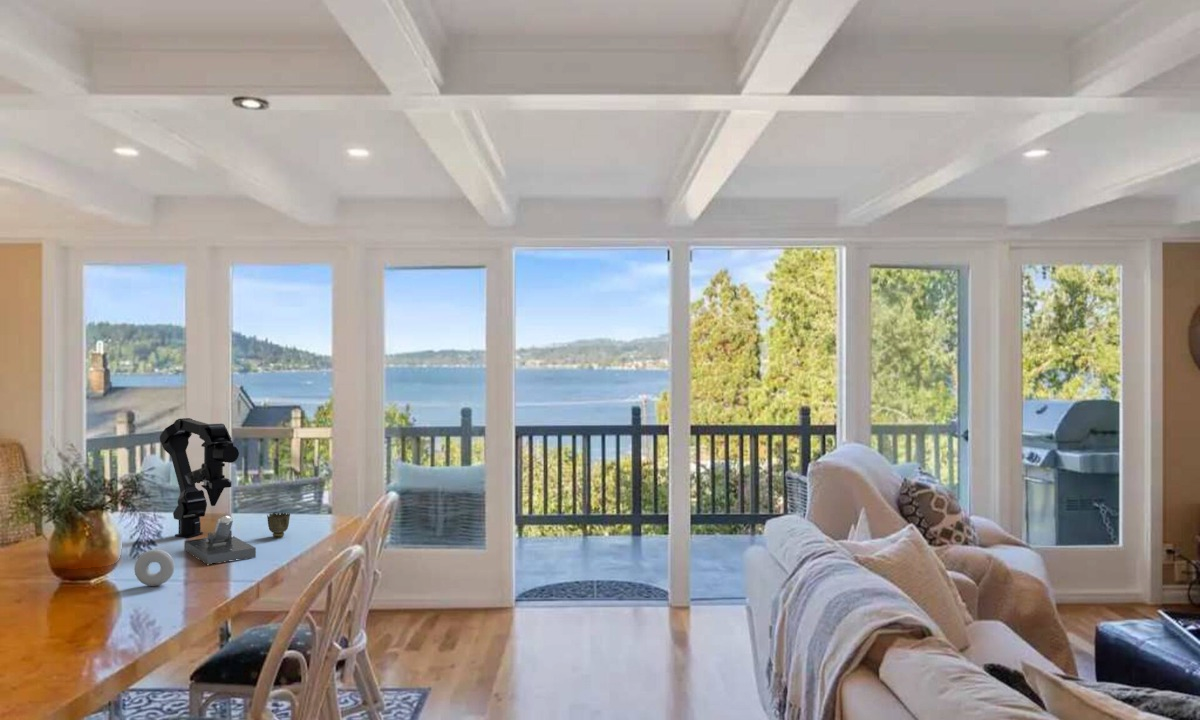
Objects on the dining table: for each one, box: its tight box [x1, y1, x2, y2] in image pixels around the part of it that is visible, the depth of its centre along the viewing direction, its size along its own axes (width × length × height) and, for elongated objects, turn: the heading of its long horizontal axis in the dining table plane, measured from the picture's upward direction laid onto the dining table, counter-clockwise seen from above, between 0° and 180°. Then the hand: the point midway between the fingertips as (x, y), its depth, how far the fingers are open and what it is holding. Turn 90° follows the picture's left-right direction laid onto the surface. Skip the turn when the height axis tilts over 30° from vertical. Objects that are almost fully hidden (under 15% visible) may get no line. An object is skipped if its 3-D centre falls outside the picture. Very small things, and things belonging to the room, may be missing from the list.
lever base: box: [184, 529, 257, 564], centre depth 240 cm, size 24×14×7 cm, turn 44°
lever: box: [213, 514, 234, 544], centre depth 238 cm, size 3×4×12 cm
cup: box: [266, 511, 291, 538], centre depth 263 cm, size 8×7×8 cm
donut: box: [134, 548, 176, 587], centre depth 206 cm, size 10×4×10 cm, turn 100°
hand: (213, 505), depth 256 cm, fingers closed
